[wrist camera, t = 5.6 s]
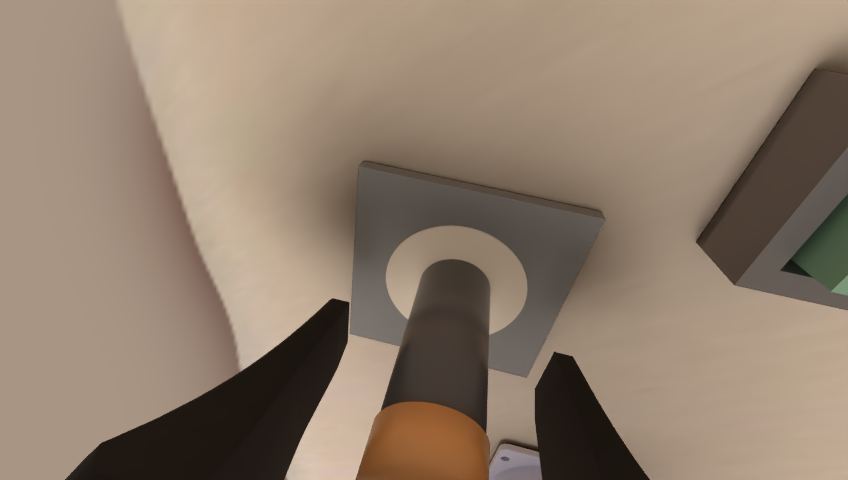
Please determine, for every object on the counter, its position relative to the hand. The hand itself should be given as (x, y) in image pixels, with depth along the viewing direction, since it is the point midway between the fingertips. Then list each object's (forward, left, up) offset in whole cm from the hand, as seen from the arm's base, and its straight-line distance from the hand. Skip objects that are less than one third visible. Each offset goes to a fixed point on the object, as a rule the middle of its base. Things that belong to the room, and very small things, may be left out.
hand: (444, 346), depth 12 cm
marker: (0, 0, -3) cm, 3 cm away
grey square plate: (0, 0, -4) cm, 4 cm away
